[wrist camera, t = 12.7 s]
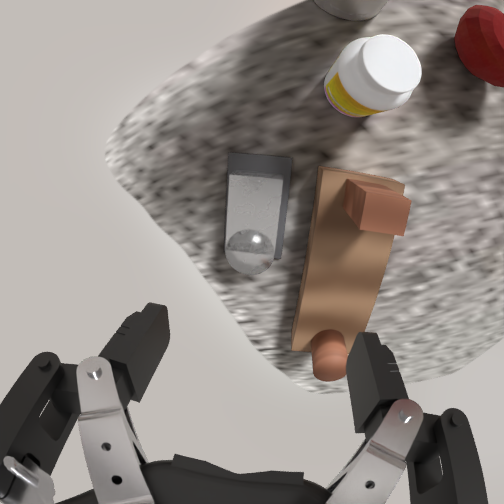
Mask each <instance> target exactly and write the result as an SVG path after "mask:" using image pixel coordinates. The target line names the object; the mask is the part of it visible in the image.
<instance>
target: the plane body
mask: <svg viewBox="0 0 504 504" xmlns="http://www.w3.org/2000/svg"><path fill="white" fill-rule="evenodd" d="M404 188H405V185H404V184H402V183H400V182H398V181H396V180H393V179H390V178H386V177H381V176H376V175H370V174H365V173H360V172H354V171H348V170H342V169H336V168H330V167H323V166H318V174H317V182H316V190H315V197H314V205H313V212H312V219H311V225H310V232H309V238H308V245H307V251H306V257H305V263H304V269H303V274H302V280H301V285H300V291H299V296H298V302H297V307H296V312H295V317H294V322H293V327H292V332H291V350H292V351H304V352H312V363H313V374H314V376H315V377H316V378H317V379H319V380H321V381H335V380H339V379H341V378H343V377H344V376H345V375H346V362H347V358H348V354H349V353H350V351H351V348H352V346H353V343H354V341H355V338H356V336H357V334H358V333H359V332H364V331H365V329H366V326H367V323H368V321H369V318H370V315H371V312H372V310H373V307H374V304H375V301H376V298H377V295H378V292H379V288H380V285H381V282H382V279H383V276H384V272H385V269H386V265H387V262H388V258H389V254H390V251H391V247H392V243H393V239H394V235H399V236H404V232H405V228H406V223H407V219H408V215H409V210H410V205H411V200H409V199H407V198H406V197H404V196H403V193H404Z"/></svg>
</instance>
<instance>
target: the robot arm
mask: <svg viewBox="0 0 504 504" xmlns="http://www.w3.org/2000/svg"><path fill="white" fill-rule="evenodd" d="M313 1H314V2H315V3H316V4H317V5H318V6H319V7H321V8H322V9H323V10H325V11H326V12H328V13H330V14H332V15H334V16H336V17H339V18H343V19H346V20H353V21H362V20H367V19H370V18H372V17H374V16H375V15H377V14H378V13H379V12H380V10H381V9H382V8H383V7H384V5H385V4H386V3H387V2H388V1H389V0H313ZM169 340H170V329H169V320H168V310H167V307H166V306H165V305H160V304H155V303H148V304H147V305H146V306H145V308H144V309H143V310H142V312H135V313H133V314H132V315H130V316H129V317H127V318H126V319H125V321H124V322H123V323H122V325H121V327H119V329H118V330H117V331H116V333H115V334H114V335H113V337H112V338H111V339H110V341H109V342H108V343H107V345H106V346H105V347H104V349H103V350H102V351H101V353H100V354H99V356H98V357H89V358H86V359H85V360H83V361H82V362H81V363H80V364H79V365H75V364H64V363H61V362H60V360H59V358H58V356H57V355H56V354H54V353H52V352H43V353H40V354H38V355H37V356H35V357H34V358H33V359H32V361H31V362H30V363H29V365H28V366H27V367H26V369H25V370H24V371H23V373H22V374H21V375H20V377H19V378H18V380H17V381H16V382H15V384H14V385H13V387H12V388H11V390H10V391H9V392H8V394H7V395H6V397H5V398H4V400H3V401H2V403H1V404H0V502H1V503H3V504H54V501H53V496H54V495H55V489H54V483H53V480H52V478H51V477H50V476H51V473H52V471H53V469H54V467H55V464H56V462H57V460H58V458H59V455H60V453H61V451H62V449H63V447H64V445H65V443H66V441H67V439H68V437H69V435H70V433H71V431H72V429H73V427H74V425H75V423H76V421H77V419H78V425H79V431H80V436H81V441H82V446H83V450H84V455H85V459H86V463H87V467H88V470H89V474H90V478H91V481H92V484H93V487H94V489H91V490H89V491H87V492H85V493H82V494H80V495H77V496H75V497H72V498H70V499H67V500H64V501H61V502H58V503H56V504H385V502H386V500H387V499H388V497H389V496H390V494H391V492H392V491H393V489H394V487H395V486H396V484H397V482H398V481H399V479H400V477H401V475H402V473H403V471H404V470H405V468H406V465H407V469H408V478H409V489H410V502H411V504H488V500H487V493H486V487H485V482H484V477H483V473H482V468H481V464H480V460H479V456H478V452H477V448H476V445H475V442H474V438H473V434H472V431H471V428H470V425H469V422H468V419H467V417H466V415H465V414H464V413H463V412H462V411H461V410H459V409H456V408H450V409H447V410H446V411H444V413H443V414H442V415H441V416H438V415H433V414H427V413H423V411H422V409H421V407H420V406H419V405H418V404H417V403H416V402H414V401H412V400H410V399H409V398H408V395H407V392H406V389H405V386H404V383H403V380H402V377H401V374H400V372H399V368H398V366H397V364H396V360H395V357H394V355H393V353H392V352H391V350H390V349H389V348H388V347H387V346H386V345H381V343H380V340H379V337H378V335H377V333H372V332H359V333H358V334H357V336H356V338H355V341H354V343H353V346H352V348H351V351H350V353H349V355H348V358H347V362H346V374H347V380H348V386H349V392H350V398H351V405H352V411H353V418H354V426H355V433H365V437H366V439H365V440H364V441H363V442H362V444H361V445H360V447H359V448H358V449H357V451H356V452H355V453H354V455H353V456H352V458H351V459H350V460H349V461H348V463H347V464H346V465H345V467H344V468H343V469H342V471H341V472H340V473H339V474H338V475H337V476H336V477H335V478H334V479H333V481H332V482H331V483H330V484H329V485H328V486H327V487H326V488H324V487H322V486H320V485H318V484H316V483H314V482H311V481H308V480H305V479H303V476H304V472H283V471H267V472H257V473H247V474H236V473H233V472H230V471H228V470H225V469H223V468H220V467H218V466H216V465H213V464H211V463H209V462H206V461H202V460H198V459H194V458H189V457H185V456H181V455H178V454H175V455H174V458H173V460H161V461H154V462H151V463H149V462H148V460H147V458H146V455H145V453H144V451H143V449H142V447H141V444H140V442H139V439H138V437H137V434H136V431H135V428H134V425H133V422H132V419H131V416H130V413H129V410H128V407H127V406H128V404H129V402H130V400H133V401H137V402H140V401H141V399H142V397H143V394H144V393H145V391H146V389H147V387H148V384H149V382H150V380H151V378H152V376H153V374H154V372H155V370H156V368H157V367H158V365H159V363H160V361H161V359H162V357H163V355H164V353H165V351H166V349H167V347H168V344H169ZM48 400H50V401H49V402H48ZM47 402H48V404H47ZM46 404H47V406H46V407H45V405H46ZM44 407H45V409H44V411H43V412H42V410H43V408H44ZM41 412H42V414H41ZM40 414H41V416H40ZM80 414H81V415H80ZM79 415H80V416H79ZM39 416H40V417H39ZM439 456H440V458H439ZM440 459H441V464H442V469H441V464H440ZM405 461H406V462H407V463H406V462H405ZM442 470H443V475H442Z"/></svg>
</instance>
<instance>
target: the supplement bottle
mask: <svg viewBox="0 0 504 504" xmlns="http://www.w3.org/2000/svg"><path fill="white" fill-rule="evenodd" d="M421 74H422V72H421V64H420V61H419V59H418V57H417V55H416V53H415V52H414V51H413V49H412V48H411V47H410V46H409V45H408V44H407V43H405V42H404V41H402V40H401V39H399V38H397V37H394V36H391V35H385V34H382V35H376V36H373V37H365V38H360V39H357V40H354V41H352V42H351V43H349V44H348V45H347V46H346V47H345V48H344V49H343V51H342V52H341V54H340V55H339V57H338V58H337V60H336V61H335V63H334V64H333V65H332V67H331V68H330V70H329V71H328V73H327V75H326V77H325V81H324V90H325V94H326V97H327V99H328V101H329V102H330V104H331V105H332V106H333V107H334V108H335V109H336V110H338V111H339V112H340V113H342V114H344V115H347V116H350V117H364V116H368V115H372V114H376V113H380V112H384V111H388V110H392V109H395V108H398V107H400V106H401V105H403V104H404V103H405V102H406V101H407V100H408V99H409V97H410V96H411V94H412V91H413V89H414V88H415V87H416V86H417V85H418V84H419V82H420V79H421Z"/></svg>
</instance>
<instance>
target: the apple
mask: <svg viewBox="0 0 504 504" xmlns="http://www.w3.org/2000/svg"><path fill="white" fill-rule="evenodd" d="M454 40H455V47H456V50H457V52H458V55H459V57H460V59H461V61H462V62H463V64H464V65H465V67H466V68H467V69H468V70H469V71H470V72H471V73H472V74H473V75H474V76H476V77H478V78H480V79H482V80H484V81H486V82H488V83H490V84H492V85H494V86H499V87H504V14H503V13H502V12H501V11H499V10H498V9H496V8H493V7H489V6H482V5H475V6H473V7H471V8H469V9H468V10H467V11H466V12H465V13H464V15H463V16H462V17H461V19H460V21H459V24H458V27H457V31H456V34H455V37H454Z"/></svg>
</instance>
